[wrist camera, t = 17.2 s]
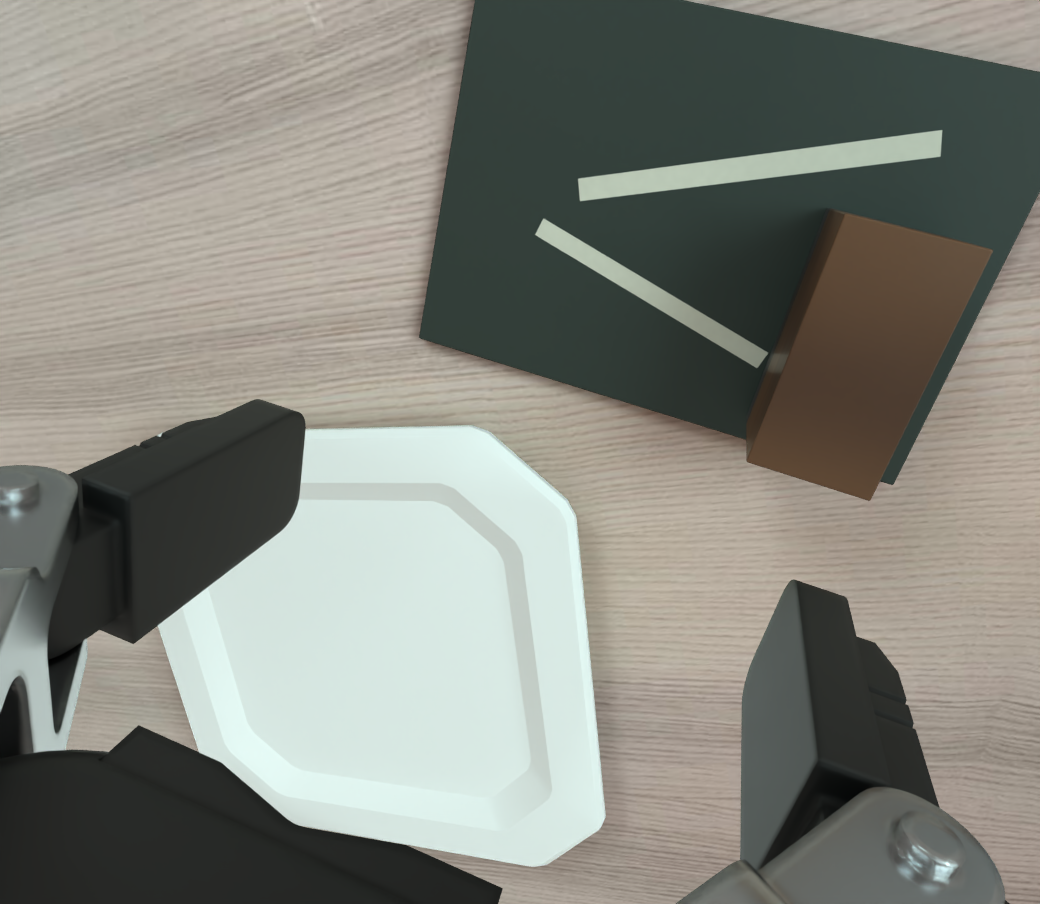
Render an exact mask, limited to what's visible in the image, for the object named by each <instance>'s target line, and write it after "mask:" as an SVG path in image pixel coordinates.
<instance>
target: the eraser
mask: <svg viewBox="0 0 1040 904" xmlns="http://www.w3.org/2000/svg"><path fill="white" fill-rule="evenodd" d="M992 252H993V250H992V249H989V248H985V247H982V246H978V245H975V244H971V243H967V242H964V241H960V240H956V239H953V238H949V237H946V236H942V235H938V234H934V233H929V232H925V231H921V230H917V229H913V228H909V227H905V226H901V225H897V224H893V223H889V222H885V221H881V220H877V219H873V218H869V217H865V216H861V215H857V214H853V213H849V212H845V211H841V210H837V209H833V208H827V209H826V211H825V214H824V216H823V219H822V221H821V224H820V227H819V229H818V232H817V234H816V237H815V239H814V242H813V245H812V247H811V250H810V252H809V255H808V258H807V260H806V263H805V265H804V268H803V271H802V273H801V276H800V278H799V281H798V284H797V286H796V289H795V291H794V294H793V296H792V299H791V302H790V304H789V307H788V309H787V312H786V315H785V317H784V320H783V322H782V325H781V328H780V330H779V333H778V335H777V338H776V341H775V343H774V346H773V348H772V351H771V353H770V356H769V359H768V361H767V364H766V366H765V369H764V372H763V374H762V377H761V379H760V382H759V385H758V387H757V390H756V392H755V395H754V398H753V400H752V403H751V405H750V408H749V410H748V413H747V416H746V418H747V424H746V447H747V462H749V463H752V464H755V465H758V466H761V467H764V468H768V469H771V470H774V471H777V472H780V473H783V474H787V475H790V476H793V477H796V478H799V479H802V480H805V481H809V482H812V483H815V484H818V485H821V486H824V487H827V488H831V489H834V490H837V491H840V492H843V493H846V494H849V495H853V496H856V497H859V498H862V499H865V500H868V501H870V500H871V498H872V496H873V494H874V492H875V490H876V488H877V486H878V484H879V482H880V480H881V478H882V476H883V474H884V472H885V470H886V467H887V465H888V463H889V461H890V459H891V457H892V455H893V453H894V451H895V449H896V447H897V445H898V443H899V441H900V439H901V437H902V435H903V433H904V431H905V429H906V427H907V425H908V423H909V421H910V419H911V417H912V415H913V413H914V411H915V409H916V407H917V405H918V402H919V400H920V398H921V396H922V394H923V392H924V390H925V388H926V386H927V384H928V382H929V380H930V378H931V376H932V374H933V372H934V370H935V368H936V366H937V364H938V362H939V360H940V358H941V356H942V354H943V352H944V350H945V348H946V346H947V344H948V342H949V340H950V337H951V335H952V333H953V331H954V329H955V327H956V325H957V323H958V321H959V319H960V317H961V315H962V313H963V311H964V309H965V307H966V305H967V303H968V301H969V299H970V297H971V295H972V293H973V291H974V289H975V287H976V285H977V283H978V281H979V279H980V277H981V274H982V272H983V270H984V268H985V266H986V264H987V262H988V260H989V258H990V256H991V254H992Z"/></svg>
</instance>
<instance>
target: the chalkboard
mask: <svg viewBox="0 0 1040 904" xmlns="http://www.w3.org/2000/svg"><path fill="white" fill-rule="evenodd" d="M1039 192H1040V72H1037V71H1032V70H1027V69H1022V68H1017V67H1012V66H1007V65H1002V64H998V63H993V62H988V61H983V60H978V59H973V58H968V57H963V56H958V55H953V54H948V53H943V52H938V51H933V50H928V49H923V48H918V47H913V46H908V45H903V44H898V43H893V42H888V41H883V40H878V39H873V38H868V37H863V36H858V35H853V34H848V33H843V32H838V31H833V30H829V29H824V28H819V27H814V26H809V25H804V24H799V23H794V22H789V21H784V20H779V19H774V18H769V17H764V16H759V15H754V14H749V13H744V12H739V11H734V10H729V9H724V8H719V7H714V6H709V5H704V4H699V3H694V2H689V1H684V0H475V4H474V10H473V16H472V22H471V28H470V34H469V40H468V46H467V52H466V58H465V64H464V70H463V76H462V82H461V88H460V94H459V100H458V106H457V112H456V118H455V124H454V130H453V136H452V142H451V148H450V155H449V161H448V167H447V173H446V179H445V185H444V191H443V197H442V203H441V209H440V215H439V221H438V227H437V233H436V239H435V245H434V251H433V257H432V263H431V269H430V275H429V281H428V287H427V293H426V299H425V305H424V311H423V317H422V323H421V330H420V336H419V338H421V339H424V340H427V341H430V342H434V343H437V344H440V345H443V346H446V347H450V348H453V349H456V350H459V351H462V352H466V353H469V354H472V355H475V356H479V357H482V358H485V359H488V360H491V361H495V362H498V363H501V364H504V365H508V366H511V367H514V368H517V369H520V370H524V371H527V372H530V373H533V374H537V375H540V376H543V377H546V378H549V379H553V380H556V381H559V382H562V383H566V384H569V385H572V386H575V387H578V388H582V389H585V390H588V391H591V392H595V393H598V394H601V395H604V396H607V397H611V398H614V399H617V400H620V401H623V402H627V403H630V404H633V405H636V406H640V407H643V408H646V409H649V410H652V411H656V412H659V413H662V414H665V415H669V416H672V417H675V418H678V419H681V420H685V421H688V422H691V423H694V424H698V425H701V426H704V427H707V428H710V429H714V430H717V431H720V432H723V433H727V434H730V435H733V436H736V437H739V438H743V439H746V424H747V418H746V416H747V413H748V410H749V408H750V405H751V403H752V400H753V398H754V395H755V392H756V390H757V387H758V385H759V382H760V379H761V377H762V374H763V372H764V369H765V366H766V364H767V361H768V359H769V356H770V353H771V351H772V348H773V346H774V343H775V341H776V338H777V335H778V333H779V330H780V328H781V325H782V322H783V320H784V317H785V315H786V312H787V309H788V307H789V304H790V302H791V299H792V296H793V294H794V291H795V289H796V286H797V284H798V281H799V278H800V276H801V273H802V271H803V268H804V265H805V263H806V260H807V258H808V255H809V252H810V250H811V247H812V245H813V242H814V239H815V237H816V234H817V232H818V229H819V227H820V224H821V221H822V219H823V216H824V214H825V211H826V209H827V208H833V209H837V210H841V211H845V212H849V213H853V214H857V215H861V216H865V217H869V218H873V219H877V220H881V221H885V222H889V223H893V224H897V225H901V226H905V227H909V228H913V229H917V230H921V231H925V232H929V233H934V234H938V235H942V236H946V237H949V238H953V239H956V240H960V241H964V242H967V243H971V244H975V245H978V246H982V247H985V248H989V249H992V250H993V252H992V254H991V256H990V258H989V260H988V262H987V264H986V266H985V268H984V270H983V272H982V274H981V277H980V279H979V281H978V283H977V285H976V287H975V289H974V291H973V293H972V295H971V297H970V299H969V301H968V303H967V305H966V307H965V309H964V311H963V313H962V315H961V317H960V319H959V321H958V323H957V325H956V327H955V329H954V331H953V333H952V335H951V337H950V340H949V342H948V344H947V346H946V348H945V350H944V352H943V354H942V356H941V358H940V360H939V362H938V364H937V366H936V368H935V370H934V372H933V374H932V376H931V378H930V380H929V382H928V384H927V386H926V388H925V390H924V392H923V394H922V396H921V398H920V400H919V402H918V405H917V407H916V409H915V411H914V413H913V415H912V417H911V419H910V421H909V423H908V425H907V427H906V429H905V431H904V433H903V435H902V437H901V439H900V441H899V443H898V445H897V447H896V449H895V451H894V453H893V455H892V457H891V459H890V461H889V463H888V465H887V467H886V470H885V472H884V474H883V476H882V478H881V480H880V481H881V482H884V483H888V484H891V485H893V484H894V482H895V480H896V478H897V476H898V474H899V472H900V470H901V468H902V466H903V464H904V462H905V460H906V458H907V456H908V454H909V452H910V450H911V448H912V446H913V444H914V442H915V440H916V438H917V436H918V434H919V432H920V430H921V428H922V426H923V424H924V422H925V420H926V418H927V416H928V414H929V412H930V410H931V408H932V406H933V404H934V402H935V400H936V398H937V396H938V394H939V392H940V390H941V388H942V386H943V384H944V382H945V380H946V378H947V376H948V374H949V372H950V370H951V368H952V366H953V364H954V362H955V360H956V358H957V356H958V354H959V352H960V350H961V348H962V346H963V344H964V342H965V340H966V338H967V336H968V334H969V332H970V330H971V328H972V326H973V324H974V322H975V320H976V318H977V316H978V314H979V312H980V310H981V308H982V306H983V304H984V302H985V300H986V298H987V296H988V294H989V292H990V290H991V288H992V286H993V284H994V282H995V280H996V278H997V276H998V274H999V272H1000V270H1001V268H1002V266H1003V264H1004V262H1005V260H1006V258H1007V256H1008V254H1009V252H1010V250H1011V248H1012V246H1013V244H1014V242H1015V240H1016V238H1017V236H1018V234H1019V232H1020V230H1021V228H1022V226H1023V224H1024V222H1025V220H1026V218H1027V216H1028V214H1029V212H1030V210H1031V208H1032V206H1033V204H1034V202H1035V200H1036V198H1037V196H1038V194H1039Z"/></svg>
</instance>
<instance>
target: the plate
mask: <svg viewBox="0 0 1040 904" xmlns="http://www.w3.org/2000/svg"><path fill="white" fill-rule="evenodd" d="M163 433H164V432H163ZM161 435H162V433H161V434H159V435H157V436H159V437H161ZM158 628H159V631H160V634H161V637H162V640H163V643H164V646H165V649H166V652H167V655H168V659H169V662H170V665H171V668H172V671H173V674H174V677H175V680H176V683H177V686H178V689H179V692H180V695H181V698H182V701H183V704H184V707H185V710H186V714H187V717H188V720H189V723H190V726H191V729H192V732H193V735H194V738H195V741H196V744H197V747H198V750H199V753H201V754H204V755H206V756H208V757H210V758H213V759H215V760H217V761H219V762H221V763H222V764H224V765H225V766H226V767H227V768H228V769H229V770H231V771H232V772H233V773H234V774H235V775H236V776H238V777H239V778H240V779H241V780H242V781H243V782H245V783H246V784H247V785H248V786H249V787H250V788H252V789H253V790H254V791H255V792H256V793H257V794H259V795H260V796H261V797H262V798H263V799H264V800H266V801H267V802H268V803H269V804H270V805H271V806H273V807H274V808H275V809H276V810H277V811H278V812H280V813H281V814H282V815H283V816H284V817H285V818H287V819H288V820H289V821H291V822H292V823H294V824H296V825H301V826H306V827H312V828H317V829H323V830H329V831H334V832H340V833H345V834H351V835H357V836H362V837H368V838H373V839H379V840H384V841H390V842H396V843H401V844H407V845H412V846H418V847H424V848H429V849H435V850H440V851H446V852H452V853H457V854H463V855H468V856H474V857H480V858H485V859H491V860H496V861H502V862H508V863H513V864H519V865H524V866H530V867H536V866H543V865H547V864H549V863H550V862H552V861H553V860H555V859H556V858H558V857H559V856H561V855H562V854H564V853H565V852H567V851H568V850H570V849H571V848H573V847H574V846H576V845H577V844H579V843H580V842H582V841H583V840H584V839H586V838H587V837H589V836H590V835H592V834H593V833H595V832H596V831H598V830H599V829H600V828H601V826H602V824H603V821H604V819H605V817H606V814H605V804H604V793H603V783H602V773H601V762H600V752H599V742H598V732H597V721H596V711H595V701H594V691H593V680H592V670H591V660H590V650H589V640H588V630H587V619H586V609H585V599H584V589H583V579H582V569H581V558H580V548H579V538H578V528H577V518H576V514H575V513H574V511H573V509H572V507H571V505H570V503H569V501H568V499H567V498H565V497H564V496H563V495H562V494H561V493H560V492H559V491H557V490H556V489H555V488H554V487H553V486H552V485H550V484H549V483H548V482H547V481H546V480H545V479H544V478H542V477H541V476H540V475H539V474H538V473H537V472H536V471H534V470H533V469H532V468H531V467H530V466H529V465H528V464H526V463H525V462H524V461H523V460H522V459H521V458H519V457H518V456H517V455H516V454H515V453H514V452H513V451H511V450H510V449H509V448H508V447H507V446H506V445H505V444H503V443H502V442H501V441H500V440H499V439H498V438H497V437H495V436H494V435H493V434H492V433H491V432H489V431H487V430H484V429H481V428H479V427H476V426H473V425H458V426H415V427H372V428H329V429H305V441H304V452H303V463H302V474H301V485H300V495H299V501H298V505H297V508H296V510H295V513H294V515H293V517H292V518H291V520H290V522H289V523H288V524H287V526H286V527H285V528H284V529H283V530H282V531H281V532H280V533H278V534H277V535H276V536H274V537H273V538H272V539H270V540H269V541H268V542H266V543H265V544H264V545H263V546H261V547H260V548H259V549H257V550H256V551H255V552H253V553H252V554H251V555H249V556H248V557H247V558H245V559H244V560H243V561H242V562H240V563H239V564H238V565H236V566H235V567H234V568H232V569H231V570H230V571H228V572H227V573H226V574H224V575H223V576H222V577H221V578H219V579H218V580H217V581H215V582H214V583H213V584H211V585H210V586H209V587H207V588H206V589H205V590H204V591H202V592H201V593H200V594H198V595H197V596H196V597H194V598H193V599H192V600H190V601H189V602H188V603H186V604H185V605H184V606H183V607H181V608H180V609H179V610H177V611H176V612H175V613H173V614H172V615H171V616H169V617H168V618H167V619H166V620H164V621H163V622H162V623H160V624H159V625H158Z"/></svg>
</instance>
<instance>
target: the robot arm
mask: <svg viewBox="0 0 1040 904" xmlns="http://www.w3.org/2000/svg"><path fill="white" fill-rule="evenodd" d="M305 428H306V427H305V420H304V417H303V416H302V414H301V413H299V412H296V411H293V410H290V409H287V408H284V407H281V406H278V405H275V404H272V403H269V402H266V401H263V400H260V399H256V400H253V401H250V402H248V403H246V404H244V405H241V406H239V407H237V408H235V409H233V410H230V411H228V412H226V413H224V414H222V415H219V416H217V417H213V418H207V419H202V420H196V421H191V422H187V423H184V424H182V425H180V426H178V427H175V428H173V429H171V430H168V431H166V432H164V433H162V435H161V437H159V436H155V437H153V438H150V439H148V440H146V441H143V442H141V444H140V446H136V445H134V446H132V447H130V448H128V449H125V450H123V451H121V452H118V453H116V454H114V455H112V456H109V457H107V458H105V459H103V460H100V461H98V462H96V463H93V464H91V465H89V466H87V467H84V468H82V469H80V470H78V471H75V472H73V473H71V474H68V475H67V474H66V473H64V472H61V471H58V470H55V469H51V468H47V467H40V466H28V465H14V466H2V467H0V904H498V902H499V899H500V896H501V892H502V889H503V888H501V887H498V886H496V885H494V884H492V883H489V882H487V881H485V880H483V879H480V878H478V877H476V876H474V875H472V874H469V873H467V872H465V871H463V870H460V869H458V868H456V867H454V866H451V865H449V864H447V863H445V862H443V861H440V860H438V859H436V858H434V857H431V856H429V855H427V854H425V853H422V852H420V851H418V850H416V849H413V848H411V847H409V846H407V845H402V844H397V843H391V842H385V841H380V840H374V839H368V838H362V837H357V836H351V835H345V834H340V833H334V832H328V831H322V830H317V829H311V828H306V827H302V826H299V825H296V824H294V823H292V822H291V821H289V820H288V819H287V818H285V817H284V816H283V815H282V814H281V813H280V812H278V811H277V810H276V809H275V808H274V807H273V806H271V805H270V804H269V803H268V802H267V801H266V800H264V799H263V798H262V797H261V796H260V795H259V794H257V793H256V792H255V791H254V790H253V789H252V788H250V787H249V786H248V785H247V784H246V783H245V782H243V781H242V780H241V779H240V778H239V777H238V776H236V775H235V774H234V773H233V772H232V771H231V770H229V769H228V768H227V767H226V766H225V765H224V764H222V763H221V762H219V761H217V760H215V759H213V758H210V757H208V756H206V755H204V754H201V753H199V752H197V751H195V750H192V749H190V748H188V747H186V746H184V745H181V744H179V743H177V742H175V741H172V740H170V739H168V738H166V737H163V736H161V735H159V734H157V733H154V732H152V731H150V730H148V729H146V728H143V727H141V726H139V725H138V726H137V727H136V728H135V729H134V730H133V731H132V732H131V733H130V734H128V735H127V736H126V737H125V738H124V739H123V740H122V741H121V742H120V743H119V744H117V745H116V746H115V747H114V748H113V749H112V750H111V751H110V752H104V751H88V750H65V749H66V745H67V741H68V736H69V732H70V728H71V724H72V719H73V715H74V711H75V707H76V703H77V698H78V694H79V690H80V686H81V681H82V677H83V673H84V669H85V665H86V660H87V653H88V650H87V638H88V637H90V636H91V635H92V634H94V633H95V632H97V631H98V630H102V631H104V632H106V633H109V634H111V635H113V636H116V637H118V638H121V639H123V640H125V641H128V642H130V643H132V644H134V643H135V642H137V641H138V640H139V639H141V638H142V637H143V636H145V635H146V634H147V633H148V632H150V631H151V630H152V629H154V628H155V627H156V626H158V625H159V624H160V623H162V622H163V621H164V620H166V619H167V618H168V617H169V616H171V615H172V614H173V613H175V612H176V611H177V610H179V609H180V608H181V607H183V606H184V605H185V604H186V603H188V602H189V601H190V600H192V599H193V598H194V597H196V596H197V595H198V594H200V593H201V592H202V591H204V590H205V589H206V588H207V587H209V586H210V585H211V584H213V583H214V582H215V581H217V580H218V579H219V578H221V577H222V576H223V575H224V574H226V573H227V572H228V571H230V570H231V569H232V568H234V567H235V566H236V565H238V564H239V563H240V562H242V561H243V560H244V559H245V558H247V557H248V556H249V555H251V554H252V553H253V552H255V551H256V550H257V549H259V548H260V547H261V546H263V545H264V544H265V543H266V542H268V541H269V540H270V539H272V538H273V537H274V536H276V535H277V534H278V533H280V532H281V531H282V530H283V529H284V528H285V527H286V526H287V524H288V523H289V522H290V520H291V518H292V517H293V515H294V513H295V510H296V508H297V505H298V501H299V495H300V485H301V474H302V463H303V452H304V441H305ZM905 703H906V697H905V693H904V690H903V687H902V684H901V680H900V677H899V674H898V671H897V670H896V669H895V668H894V666H893V665H892V664H891V662H890V661H889V660H888V659H887V657H886V656H885V655H884V654H883V652H882V651H881V650H880V648H879V647H878V646H877V645H876V643H874V642H871V641H868V640H865V639H862V638H859V637H856V633H855V629H854V625H853V621H852V616H851V612H850V608H849V604H848V600H847V598H846V597H844V596H841V595H838V594H836V593H833V592H830V591H827V590H824V589H821V588H818V587H815V586H812V585H809V584H806V583H803V582H800V581H797V580H791V581H790V582H789V583H788V585H787V586H786V588H785V590H784V592H783V594H782V596H781V598H780V600H779V602H778V605H777V607H776V609H775V611H774V614H773V616H772V618H771V620H770V622H769V625H768V627H767V629H766V631H765V633H764V636H763V638H762V640H761V642H760V645H759V647H758V649H757V651H756V653H755V656H754V658H753V660H752V663H751V665H750V668H749V671H748V674H747V678H746V681H745V685H744V690H743V696H742V740H741V849H740V860H739V861H736V862H734V863H732V864H730V865H729V866H727V867H726V868H724V869H723V870H722V871H720V872H719V873H717V874H716V875H715V876H713V877H712V878H710V879H709V880H708V881H706V882H705V883H704V884H702V885H701V886H699V887H698V888H697V889H695V890H694V891H692V892H691V893H690V894H688V895H687V896H686V897H684V898H683V899H681V900H680V901H679V902H677V903H676V904H1009V903H1008V902H1007V901H1006V900H1005V891H1004V886H1003V883H1002V879H1001V876H1000V874H999V872H998V870H997V868H996V866H995V864H994V863H993V861H992V860H991V858H990V856H989V855H988V853H987V852H986V851H985V849H984V848H983V847H982V846H981V844H980V843H979V842H978V841H977V840H976V839H975V838H974V837H973V836H972V835H971V834H970V832H969V831H968V830H967V829H965V828H964V827H963V826H962V825H961V824H960V823H959V822H958V821H956V820H955V819H954V818H953V817H951V816H950V815H949V814H947V813H946V812H945V811H943V810H942V809H940V808H939V805H938V802H937V798H936V795H935V792H934V788H933V785H932V782H931V779H930V775H929V772H928V769H927V766H926V762H925V759H924V756H923V752H922V749H921V746H920V743H919V739H918V736H917V733H916V730H915V729H913V724H914V723H913V720H912V716H911V713H910V710H909V707H908V705H905Z"/></svg>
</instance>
